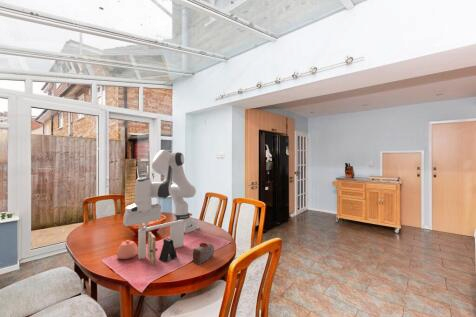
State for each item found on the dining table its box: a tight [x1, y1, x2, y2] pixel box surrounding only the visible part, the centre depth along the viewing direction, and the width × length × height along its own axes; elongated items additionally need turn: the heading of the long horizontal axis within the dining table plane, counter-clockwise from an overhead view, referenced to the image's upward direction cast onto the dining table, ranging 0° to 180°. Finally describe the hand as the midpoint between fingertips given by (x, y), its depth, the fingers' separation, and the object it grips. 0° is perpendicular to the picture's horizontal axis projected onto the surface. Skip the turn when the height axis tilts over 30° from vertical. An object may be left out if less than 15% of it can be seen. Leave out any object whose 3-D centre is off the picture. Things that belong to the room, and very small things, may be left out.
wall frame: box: [137, 219, 185, 260], centre depth 145 cm, size 30×2×18 cm, turn 134°
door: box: [147, 230, 158, 266], centre depth 133 cm, size 14×4×16 cm, turn 34°
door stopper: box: [158, 237, 178, 263], centre depth 135 cm, size 9×6×12 cm, turn 142°
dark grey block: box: [192, 241, 215, 265], centre depth 135 cm, size 14×8×10 cm, turn 151°
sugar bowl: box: [116, 239, 138, 261], centre depth 138 cm, size 12×14×10 cm
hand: (143, 230), depth 125 cm, fingers closed
